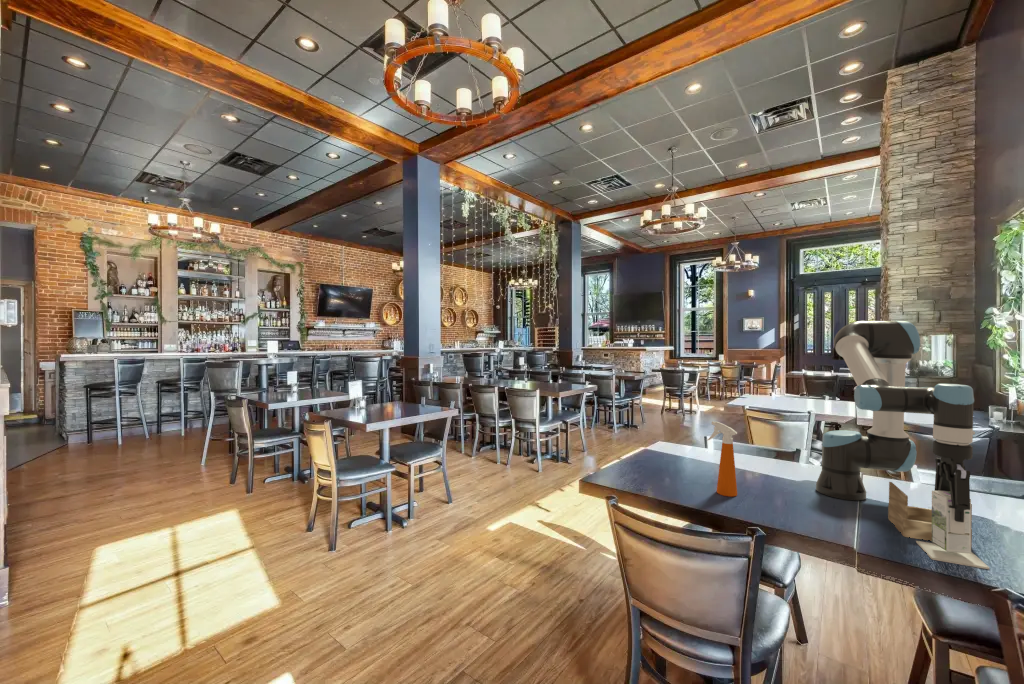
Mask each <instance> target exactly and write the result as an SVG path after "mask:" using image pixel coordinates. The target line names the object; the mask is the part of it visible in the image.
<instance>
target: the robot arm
mask: <svg viewBox="0 0 1024 684" xmlns="http://www.w3.org/2000/svg"><path fill="white" fill-rule="evenodd" d="M833 347H834V349H835V352H836V353H837V355H839V356H840V357H842V358H843V360H844V362H845V364H846V365H847V368H848V370H849V372H850V374H851V376H852V378H853V380H854V382H855V384H856V387H855V389H854V391H853V392H854V393H853V394H854V395H853V399H854V404H855V406H856V407H857V408H858V409H859V410H862V411H863V410H864V411H872V426H871V428H869V429H867V430H866V435H865V436H864V435H862V433H861V432H859V431H857V430H856V431H855V430H845V429H842V430H838V429H837V430H830V431H827V432H824V433H823V435H822V440H821V442H822V443H821V471H820V473H819V476H818V478H817V481H816V483H815V490H816V491H817V492H818V493H820V494H822V495H825V496H827V497H831V498H836V499H839V500H845V501H846V500H847V501H864V500H866V499H867V490H866V488H865V485H864V482H863V480H862V476H861V469H870V470H878V471H887V472H892V473H893V472H900V473H902V472H903V473H904V472H906V473H907V472H909V471H910V470H911V469H913V467H914V466H915V463H916V461H917V455H918V454H917V453H918V452H917V449H916V448H917V446H916V444H915V442H914V441H913V440H912V439H910V435H909V434H908V433H907V432H906V431H905V430H904V427H905V413H908V414H909V413H910V414H925V415H933V424H932V426H933V427H932V438H933V439H934V441H933V442H932V453H933V454H934V455H935V456H938V457H939V458H938V457H936V458H935V480H934V490H933V491H950V493H951V501H952V506H951V505H948V506H949V508H950V532H951V533H958V534H964V535H965V510H970V499H971V490H970V488H971V487H970V485H971V484H970V480H971V471H970V470H966V466H965V464H964V461H965V460H967V461H969V460H972V459H973V449H974V448H973V447H974V446H972V443H973V435H975V434H976V432H975V431H974V430H973V429H974V426H973V425H974V407H975V406H974V403H975V397H974V389H973V388H972V386H970V385H966V384H958V383H937V384H936V385H934V386H923V387H916V386H915V387H914V386H913V387H912V386H906V364H907V363H908V362H910V361H911V360H912V359H913V358H912V355H915V354H918V353H919V352H920V351H919V350H920V348H921V338H920V332H919V330H918V328H917V327H916V325H914V324H913V323H912V322H911V321H908V320H907V321H904V320H859V321H858V320H857V321H853V322H850V323H849V324H846V325H845V326H843V327H841V328H840V329H839V330H838V331H837V332H836V334H835V336H834V338H833Z"/></svg>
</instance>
